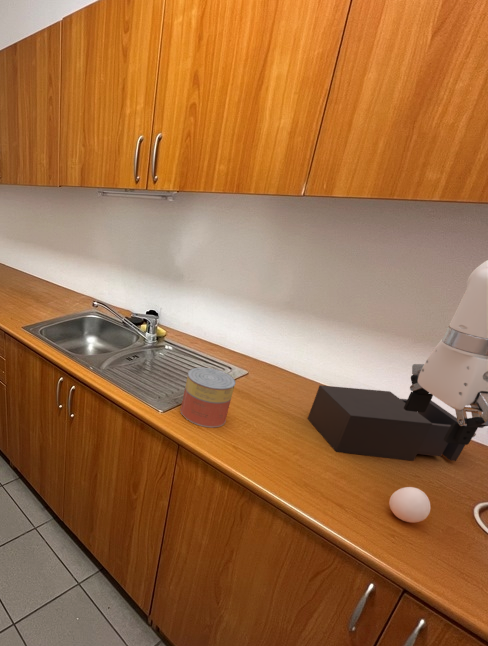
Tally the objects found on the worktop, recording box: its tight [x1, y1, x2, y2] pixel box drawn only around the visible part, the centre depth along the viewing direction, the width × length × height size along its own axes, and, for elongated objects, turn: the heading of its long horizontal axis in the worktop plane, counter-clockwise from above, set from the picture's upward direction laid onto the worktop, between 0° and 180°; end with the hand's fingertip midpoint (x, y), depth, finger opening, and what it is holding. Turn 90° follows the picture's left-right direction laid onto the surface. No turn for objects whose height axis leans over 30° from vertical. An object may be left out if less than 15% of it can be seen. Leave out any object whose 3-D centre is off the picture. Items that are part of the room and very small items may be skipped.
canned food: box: [179, 366, 236, 428], centre depth 107 cm, size 11×11×12 cm
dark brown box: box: [307, 384, 432, 462], centre depth 97 cm, size 16×14×11 cm
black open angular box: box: [400, 398, 477, 462], centre depth 95 cm, size 18×12×9 cm
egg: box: [388, 486, 431, 523], centre depth 76 cm, size 5×5×7 cm
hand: (433, 425), depth 73 cm, fingers open, 9 cm apart
